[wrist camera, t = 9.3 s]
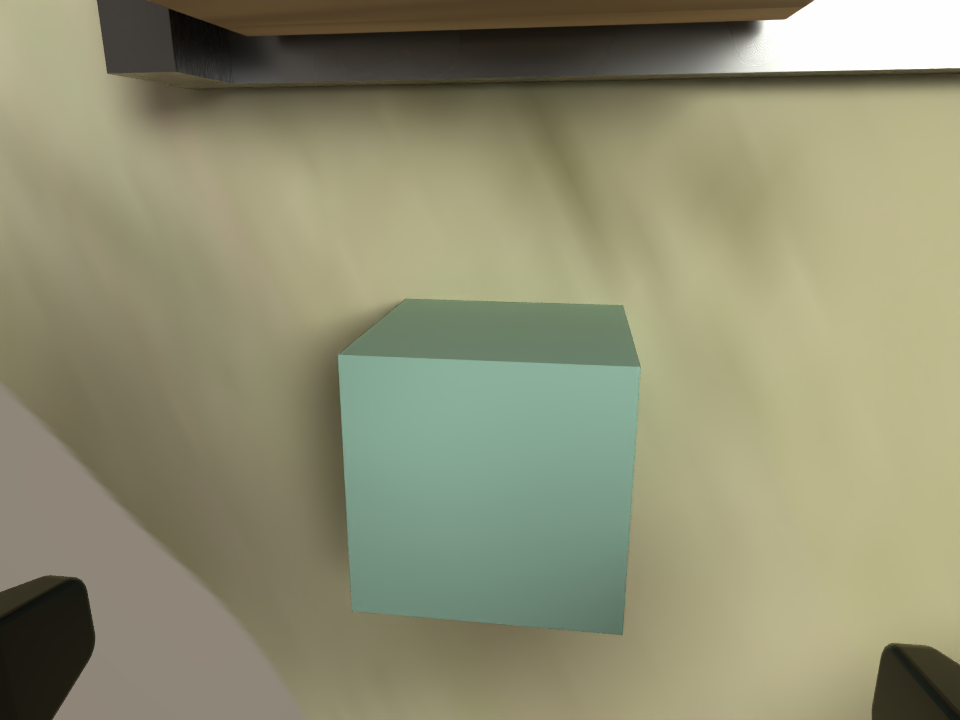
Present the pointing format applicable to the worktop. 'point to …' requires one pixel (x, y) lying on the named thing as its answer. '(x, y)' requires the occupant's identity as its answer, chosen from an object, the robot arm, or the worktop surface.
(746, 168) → the worktop surface
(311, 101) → the worktop surface
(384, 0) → the wooden crate tray
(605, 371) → the teal block
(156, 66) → the grey flat slab
